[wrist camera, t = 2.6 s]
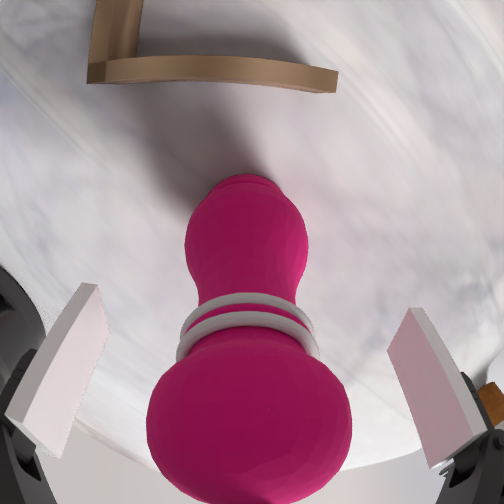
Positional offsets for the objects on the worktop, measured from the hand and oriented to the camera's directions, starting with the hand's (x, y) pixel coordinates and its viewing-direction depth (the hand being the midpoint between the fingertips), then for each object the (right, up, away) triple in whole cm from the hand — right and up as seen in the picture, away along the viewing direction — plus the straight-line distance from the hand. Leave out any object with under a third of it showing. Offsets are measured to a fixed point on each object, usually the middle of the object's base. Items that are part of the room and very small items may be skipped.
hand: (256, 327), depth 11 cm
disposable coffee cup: (+48, -26, +29) cm, 62 cm away
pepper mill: (-1, +6, +10) cm, 12 cm away
